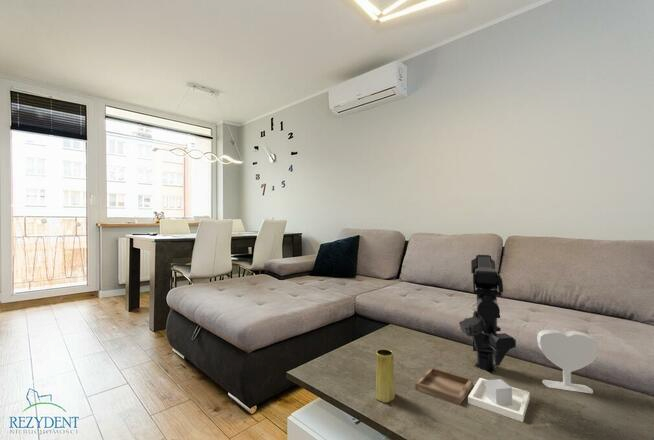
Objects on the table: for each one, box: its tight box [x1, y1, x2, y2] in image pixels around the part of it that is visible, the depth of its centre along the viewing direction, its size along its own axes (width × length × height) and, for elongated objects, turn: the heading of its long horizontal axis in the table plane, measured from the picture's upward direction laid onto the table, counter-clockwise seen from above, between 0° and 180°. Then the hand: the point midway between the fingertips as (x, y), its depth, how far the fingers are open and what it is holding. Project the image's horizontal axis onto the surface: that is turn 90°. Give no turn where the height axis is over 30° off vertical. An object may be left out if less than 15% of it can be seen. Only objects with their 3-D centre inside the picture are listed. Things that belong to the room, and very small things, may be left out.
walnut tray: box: [414, 366, 474, 406], centre depth 101 cm, size 14×14×2 cm
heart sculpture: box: [536, 328, 599, 394], centre depth 101 cm, size 16×5×18 cm, turn 69°
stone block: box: [486, 379, 512, 406], centre depth 93 cm, size 5×5×5 cm
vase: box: [375, 348, 396, 404], centre depth 97 cm, size 6×6×14 cm
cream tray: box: [467, 377, 531, 423], centre depth 93 cm, size 14×14×2 cm
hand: (487, 358), depth 98 cm, fingers open, 9 cm apart
